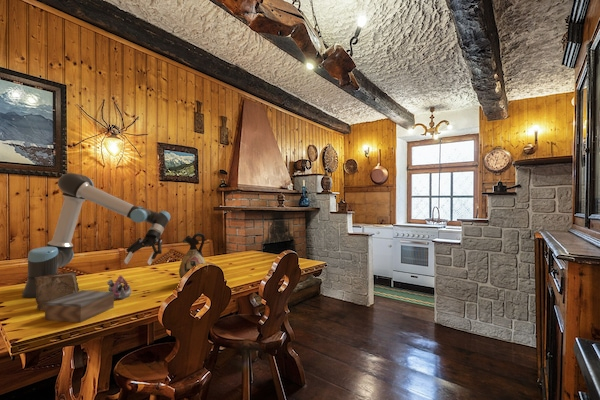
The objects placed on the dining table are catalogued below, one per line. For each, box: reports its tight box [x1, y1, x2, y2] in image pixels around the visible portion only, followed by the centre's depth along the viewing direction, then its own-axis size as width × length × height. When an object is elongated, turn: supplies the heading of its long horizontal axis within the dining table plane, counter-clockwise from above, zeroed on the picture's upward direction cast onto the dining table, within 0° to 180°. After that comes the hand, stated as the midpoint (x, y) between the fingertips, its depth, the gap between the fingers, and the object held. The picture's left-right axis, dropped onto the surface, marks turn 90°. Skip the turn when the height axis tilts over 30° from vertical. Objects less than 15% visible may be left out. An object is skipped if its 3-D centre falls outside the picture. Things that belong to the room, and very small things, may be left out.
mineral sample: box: [35, 271, 80, 311], centre depth 131 cm, size 17×4×15 cm, turn 112°
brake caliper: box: [106, 274, 132, 301], centre depth 146 cm, size 11×11×12 cm
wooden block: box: [44, 290, 115, 323], centre depth 124 cm, size 16×17×7 cm
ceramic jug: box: [178, 232, 207, 279], centre depth 173 cm, size 17×15×30 cm
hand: (136, 263), depth 158 cm, fingers open, 13 cm apart
